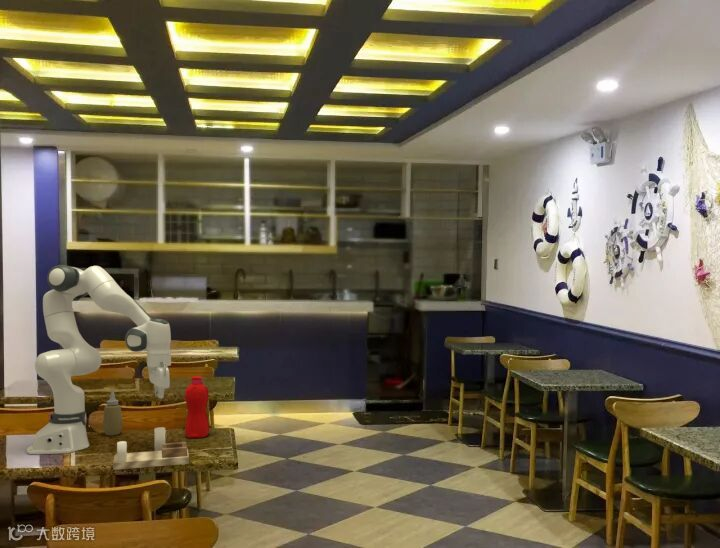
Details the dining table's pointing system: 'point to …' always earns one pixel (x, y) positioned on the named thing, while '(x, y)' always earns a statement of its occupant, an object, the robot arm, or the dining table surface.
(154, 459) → the wooden board with socket
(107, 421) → the squeeze bottle
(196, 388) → the water bottle
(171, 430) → the dining table surface
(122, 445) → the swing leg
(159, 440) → the loose leg
